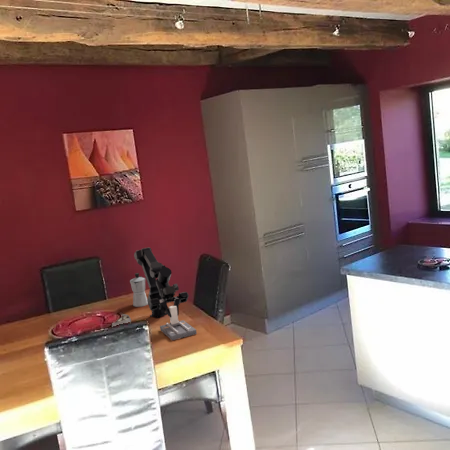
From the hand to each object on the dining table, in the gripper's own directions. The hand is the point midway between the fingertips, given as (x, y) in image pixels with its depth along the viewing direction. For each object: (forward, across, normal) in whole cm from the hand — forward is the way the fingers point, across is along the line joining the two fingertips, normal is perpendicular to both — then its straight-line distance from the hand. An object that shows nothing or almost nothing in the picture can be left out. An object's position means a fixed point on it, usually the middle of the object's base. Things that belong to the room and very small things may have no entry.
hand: (174, 316), depth 235 cm
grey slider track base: (+7, 0, +3) cm, 7 cm away
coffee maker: (-32, -2, +42) cm, 53 cm away
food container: (+1, -23, +9) cm, 24 cm away
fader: (+2, 0, +4) cm, 5 cm away
